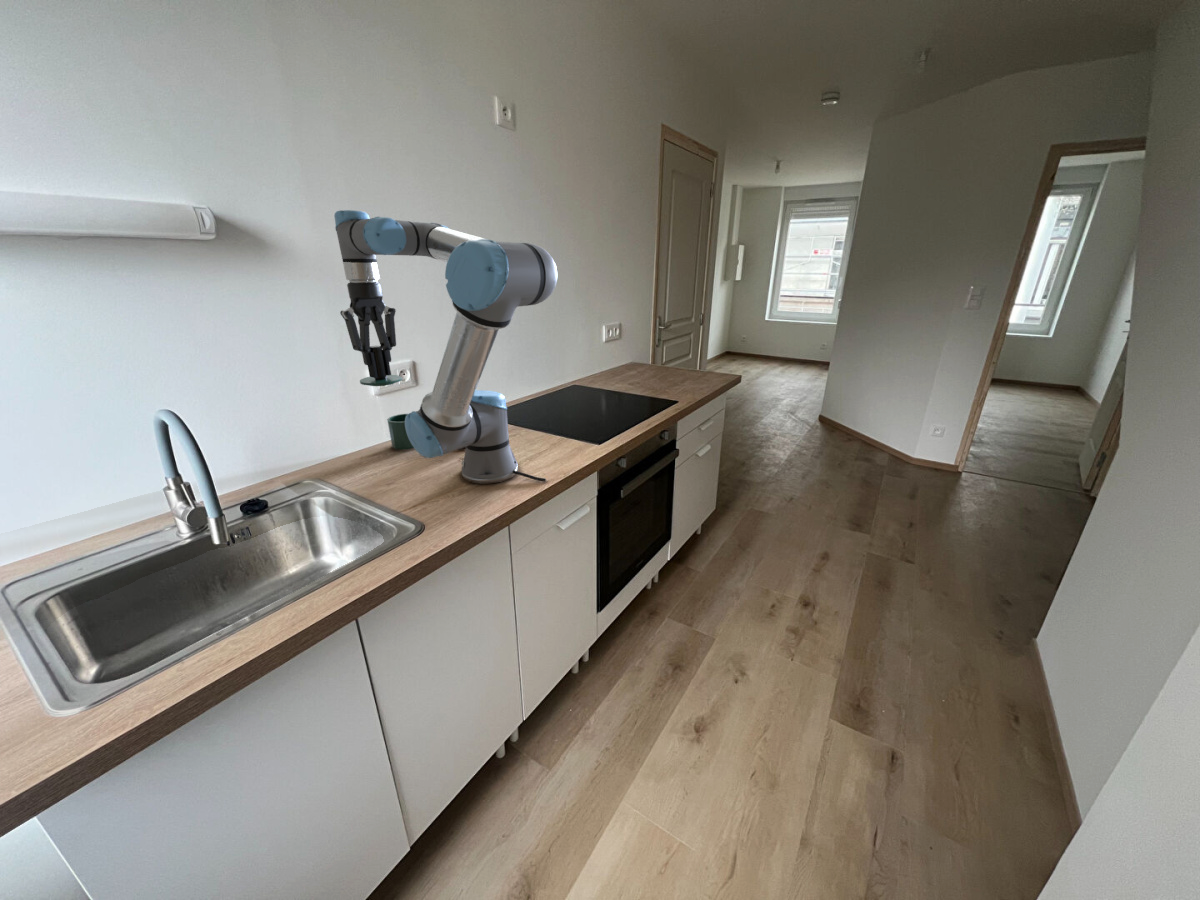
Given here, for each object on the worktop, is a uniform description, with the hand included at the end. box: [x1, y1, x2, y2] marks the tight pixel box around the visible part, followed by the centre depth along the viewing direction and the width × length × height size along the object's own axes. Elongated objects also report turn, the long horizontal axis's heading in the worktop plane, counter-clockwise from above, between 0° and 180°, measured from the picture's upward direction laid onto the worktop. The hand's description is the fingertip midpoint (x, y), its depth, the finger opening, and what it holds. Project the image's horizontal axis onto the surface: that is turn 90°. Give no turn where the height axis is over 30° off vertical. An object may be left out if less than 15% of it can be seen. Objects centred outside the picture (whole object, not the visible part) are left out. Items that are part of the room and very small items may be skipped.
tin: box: [386, 413, 414, 450], centre depth 144 cm, size 9×9×10 cm
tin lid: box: [359, 345, 403, 387], centre depth 119 cm, size 10×10×10 cm
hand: (380, 375), depth 120 cm, fingers closed on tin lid, 3 cm apart
